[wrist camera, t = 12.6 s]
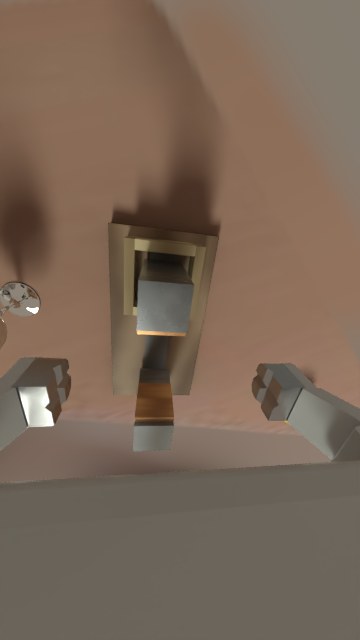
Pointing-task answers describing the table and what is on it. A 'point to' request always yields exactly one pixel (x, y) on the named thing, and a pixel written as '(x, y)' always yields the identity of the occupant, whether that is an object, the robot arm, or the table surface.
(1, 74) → the table surface
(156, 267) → the grey metal slab
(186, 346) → the rail
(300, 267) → the table surface
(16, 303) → the wineglass
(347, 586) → the robot arm
